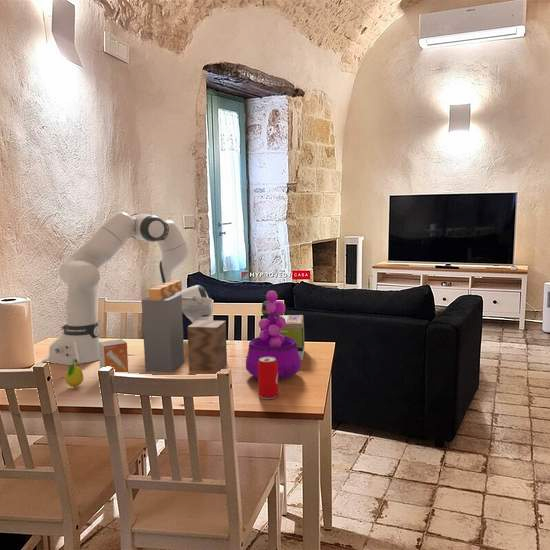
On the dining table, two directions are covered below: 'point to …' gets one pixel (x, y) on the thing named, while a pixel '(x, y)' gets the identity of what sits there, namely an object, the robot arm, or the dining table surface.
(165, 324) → the charcoal stand
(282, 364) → the decorative plant
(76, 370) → the lemon
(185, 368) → the dining table surface
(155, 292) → the orange bar
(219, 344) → the walnut pedestal
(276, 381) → the beverage can
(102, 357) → the small box
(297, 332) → the tea box
